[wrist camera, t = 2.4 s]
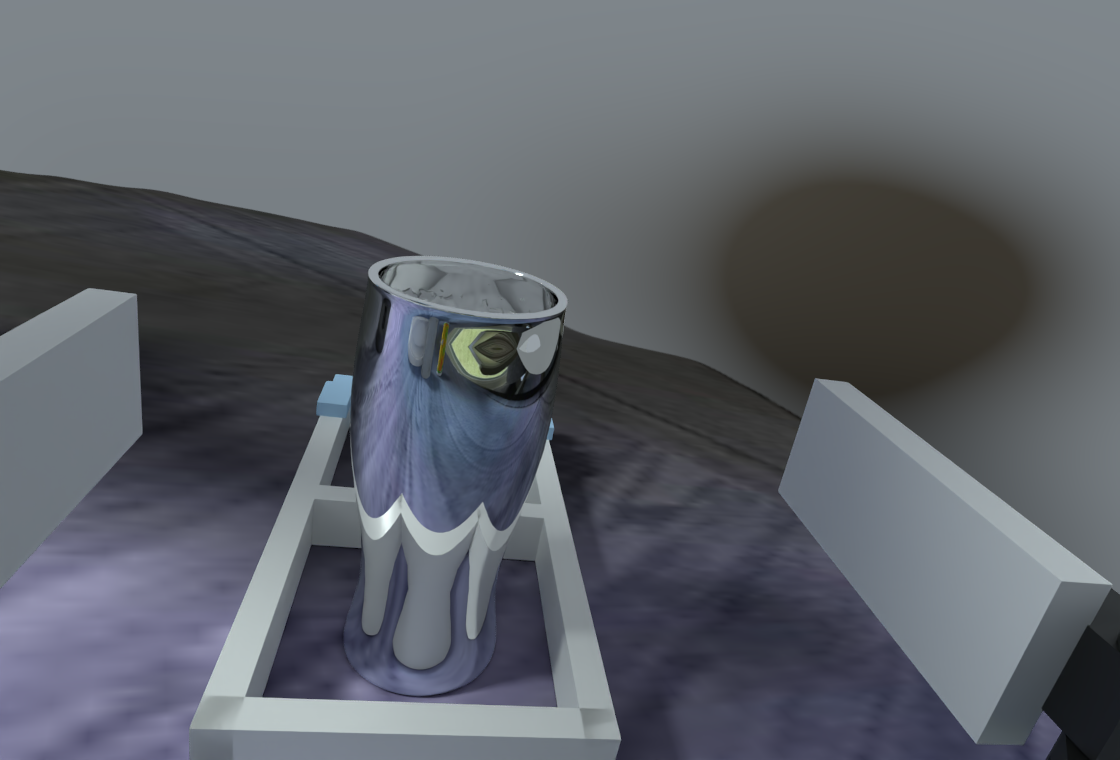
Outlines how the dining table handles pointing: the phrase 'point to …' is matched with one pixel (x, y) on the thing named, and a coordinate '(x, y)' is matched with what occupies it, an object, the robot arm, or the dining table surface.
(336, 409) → the light blue bracket
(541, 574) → the frame
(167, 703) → the dining table surface
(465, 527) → the beer glass
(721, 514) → the dining table surface
